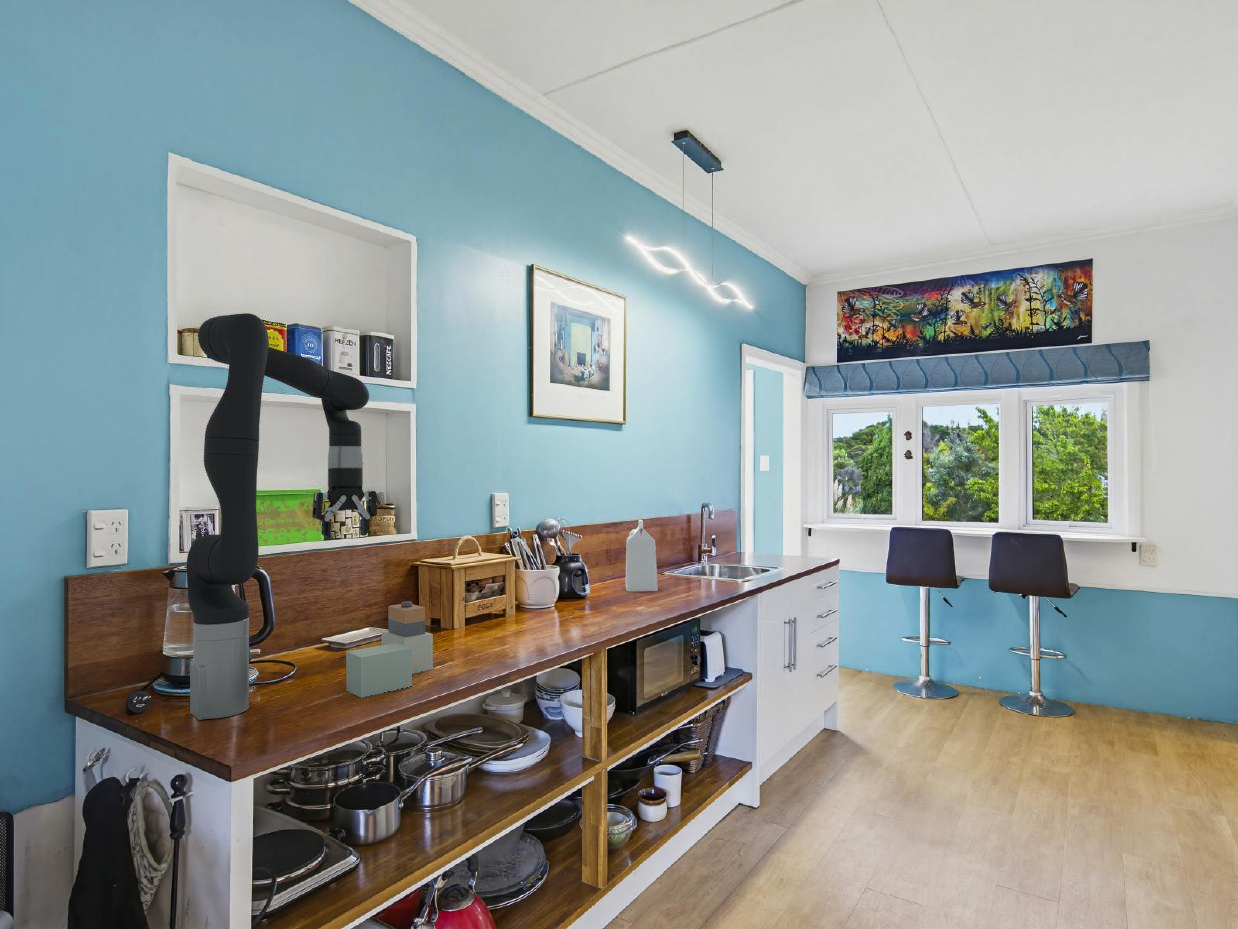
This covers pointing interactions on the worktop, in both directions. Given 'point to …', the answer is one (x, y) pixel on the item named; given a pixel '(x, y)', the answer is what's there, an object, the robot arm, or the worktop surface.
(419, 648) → the stand
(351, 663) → the stand
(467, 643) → the worktop surface
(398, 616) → the top plate
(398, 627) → the bottom plate
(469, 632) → the worktop surface
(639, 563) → the milk
